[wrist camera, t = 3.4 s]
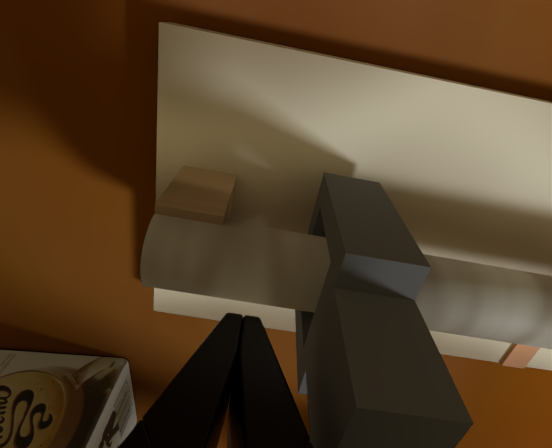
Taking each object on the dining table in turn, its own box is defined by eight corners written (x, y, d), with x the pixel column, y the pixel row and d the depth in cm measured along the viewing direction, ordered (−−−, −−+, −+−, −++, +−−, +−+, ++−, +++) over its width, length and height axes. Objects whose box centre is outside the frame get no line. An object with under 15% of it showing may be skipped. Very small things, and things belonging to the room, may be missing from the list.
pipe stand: (629, 362, 20) (754, 483, 14) (163, 289, 18) (112, 398, 13) (832, 160, 14) (1163, 239, 9) (172, 22, 12) (86, 19, 7)
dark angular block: (340, 291, 15) (391, 528, 8) (294, 283, 15) (302, 518, 8) (379, 182, 12) (503, 385, 5) (323, 172, 12) (376, 366, 5)
